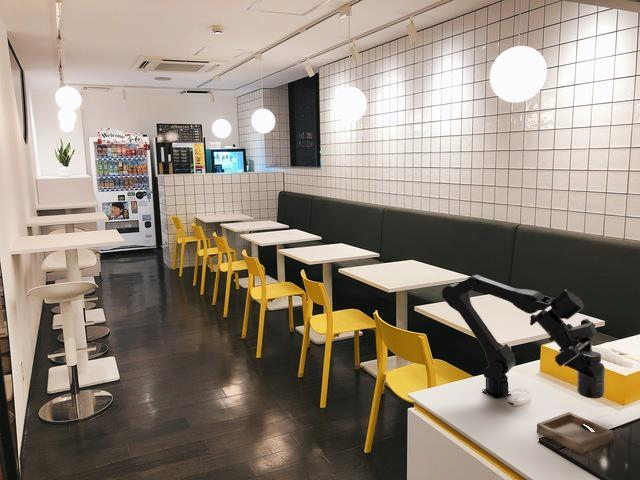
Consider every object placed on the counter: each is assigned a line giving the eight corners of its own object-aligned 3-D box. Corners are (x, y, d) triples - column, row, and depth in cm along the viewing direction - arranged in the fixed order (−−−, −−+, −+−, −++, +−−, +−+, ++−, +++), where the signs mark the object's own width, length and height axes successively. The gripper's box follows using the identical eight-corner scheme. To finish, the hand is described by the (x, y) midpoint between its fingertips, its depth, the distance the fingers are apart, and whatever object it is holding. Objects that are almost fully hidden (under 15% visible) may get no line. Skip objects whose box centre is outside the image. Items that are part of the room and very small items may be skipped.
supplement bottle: (598, 389, 148) (600, 349, 147) (607, 399, 141) (609, 358, 140) (573, 388, 149) (574, 349, 148) (581, 398, 143) (582, 357, 141)
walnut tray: (536, 432, 139) (537, 423, 138) (568, 420, 144) (569, 411, 144) (580, 454, 127) (580, 445, 127) (613, 440, 133) (613, 431, 133)
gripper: (568, 320, 138) (613, 368, 132) (586, 305, 152) (627, 348, 146) (537, 342, 144) (579, 389, 138) (557, 326, 158) (595, 368, 152)
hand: (596, 372), depth 144 cm, fingers closed on supplement bottle, 7 cm apart
